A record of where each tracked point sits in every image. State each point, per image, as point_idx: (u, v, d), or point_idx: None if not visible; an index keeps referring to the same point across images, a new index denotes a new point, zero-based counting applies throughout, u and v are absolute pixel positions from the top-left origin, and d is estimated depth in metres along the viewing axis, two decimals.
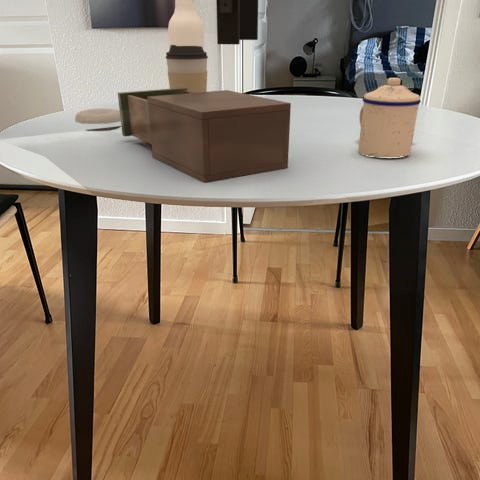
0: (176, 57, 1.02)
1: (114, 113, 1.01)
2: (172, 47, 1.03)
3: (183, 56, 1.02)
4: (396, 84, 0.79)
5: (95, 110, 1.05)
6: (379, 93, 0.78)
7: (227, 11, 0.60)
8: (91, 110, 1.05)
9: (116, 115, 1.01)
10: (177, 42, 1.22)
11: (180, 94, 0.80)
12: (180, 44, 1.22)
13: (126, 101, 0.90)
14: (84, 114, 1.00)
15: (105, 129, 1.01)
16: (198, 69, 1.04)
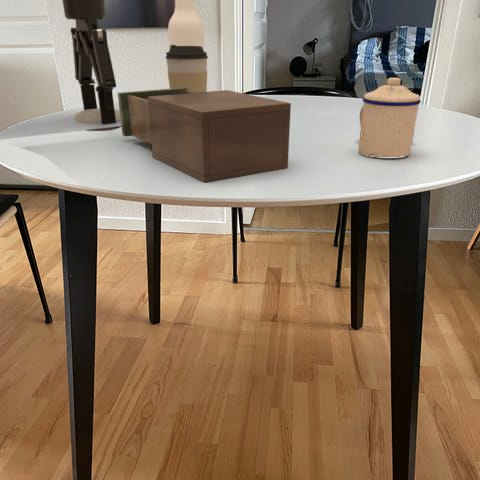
0: (176, 57, 1.02)
1: None
2: (172, 47, 1.03)
3: (183, 56, 1.02)
4: (396, 84, 0.79)
5: (95, 110, 1.05)
6: (379, 93, 0.78)
7: (110, 107, 0.97)
8: (91, 110, 1.05)
9: (116, 115, 1.01)
10: (177, 42, 1.22)
11: (180, 94, 0.80)
12: (180, 44, 1.22)
13: (126, 101, 0.90)
14: (84, 114, 1.00)
15: (105, 129, 1.01)
16: (198, 69, 1.04)
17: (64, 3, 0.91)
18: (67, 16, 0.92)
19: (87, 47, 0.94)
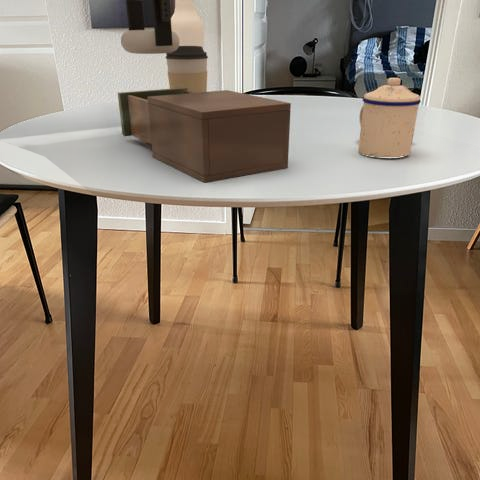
0: (176, 57, 1.02)
1: None
2: None
3: (183, 56, 1.02)
4: (396, 84, 0.79)
5: None
6: (379, 93, 0.78)
7: (167, 21, 0.79)
8: (139, 31, 0.86)
9: None
10: None
11: (180, 94, 0.80)
12: (180, 44, 1.22)
13: (126, 101, 0.90)
14: (133, 32, 0.82)
15: (159, 51, 0.83)
16: (198, 69, 1.04)
17: None
18: None
19: None
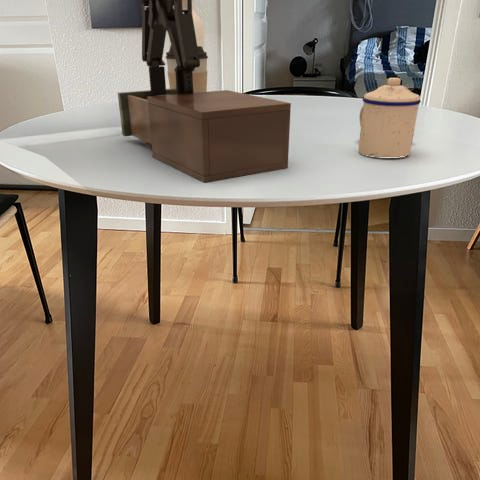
0: None
1: None
2: None
3: None
4: (396, 84, 0.79)
5: None
6: (379, 93, 0.78)
7: (190, 92, 0.82)
8: None
9: None
10: None
11: (180, 94, 0.80)
12: None
13: (126, 101, 0.90)
14: None
15: None
16: (198, 69, 1.04)
17: None
18: None
19: (166, 18, 0.78)
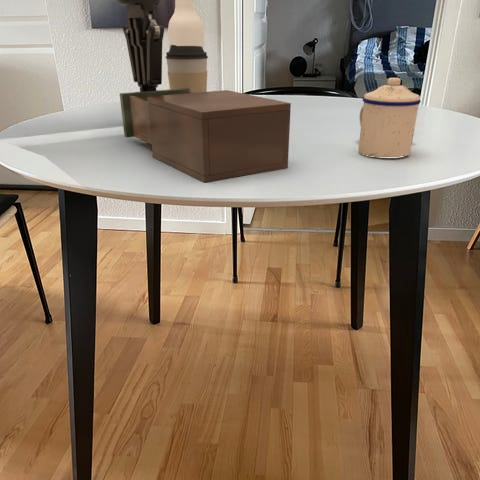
0: (176, 57, 1.02)
1: None
2: (172, 47, 1.03)
3: (183, 56, 1.02)
4: (396, 84, 0.79)
5: None
6: (379, 93, 0.78)
7: None
8: None
9: None
10: (177, 42, 1.22)
11: (180, 94, 0.80)
12: (180, 44, 1.22)
13: (128, 102, 0.89)
14: None
15: None
16: (198, 69, 1.04)
17: None
18: (121, 1, 0.85)
19: (140, 39, 0.88)
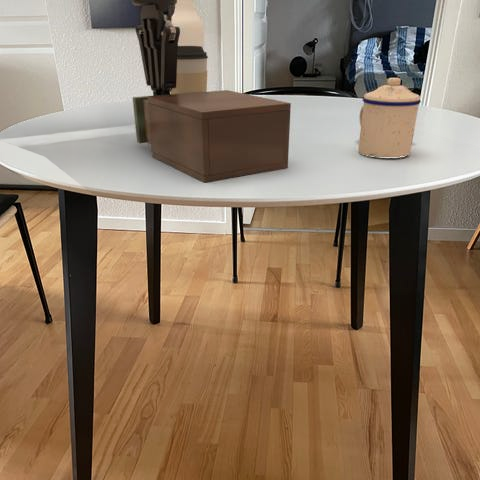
0: None
1: None
2: None
3: (183, 56, 1.02)
4: (396, 84, 0.79)
5: None
6: (379, 93, 0.78)
7: None
8: None
9: None
10: None
11: (180, 94, 0.80)
12: (180, 44, 1.22)
13: (141, 106, 0.85)
14: None
15: None
16: (198, 69, 1.04)
17: None
18: (135, 1, 0.81)
19: (154, 41, 0.84)
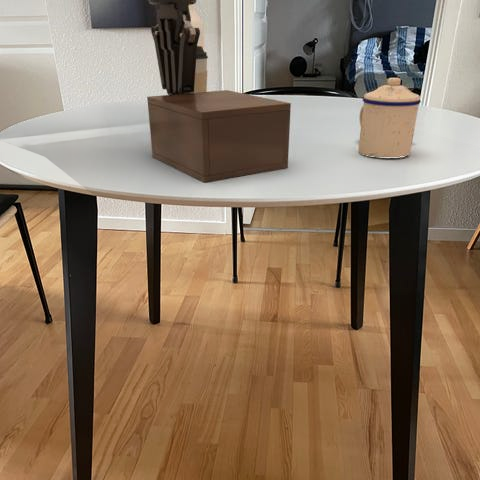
0: None
1: None
2: None
3: None
4: (396, 84, 0.79)
5: None
6: (379, 93, 0.78)
7: None
8: None
9: None
10: None
11: (180, 94, 0.80)
12: None
13: None
14: None
15: None
16: (198, 69, 1.04)
17: None
18: (152, 0, 0.76)
19: (171, 43, 0.79)
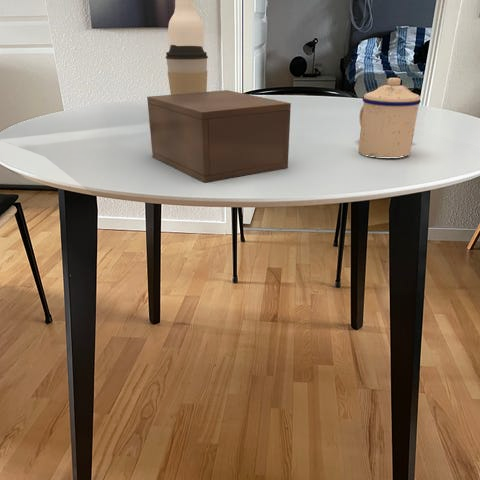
0: (176, 57, 1.02)
1: None
2: (172, 47, 1.03)
3: (183, 56, 1.02)
4: (396, 84, 0.79)
5: None
6: (379, 93, 0.78)
7: None
8: None
9: None
10: (177, 42, 1.22)
11: (180, 94, 0.80)
12: (180, 44, 1.22)
13: None
14: None
15: None
16: (198, 69, 1.04)
17: None
18: None
19: None
